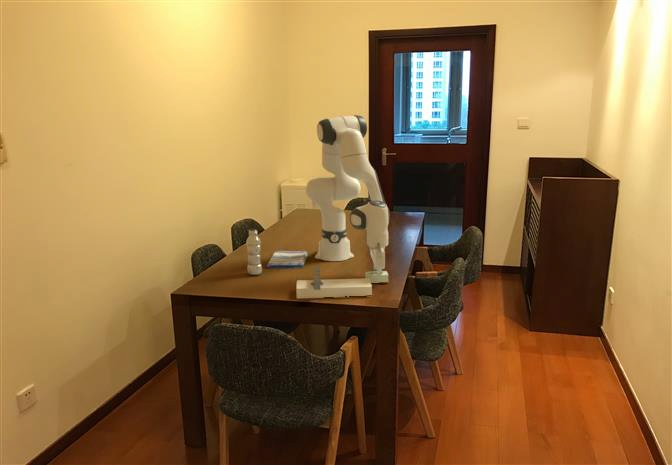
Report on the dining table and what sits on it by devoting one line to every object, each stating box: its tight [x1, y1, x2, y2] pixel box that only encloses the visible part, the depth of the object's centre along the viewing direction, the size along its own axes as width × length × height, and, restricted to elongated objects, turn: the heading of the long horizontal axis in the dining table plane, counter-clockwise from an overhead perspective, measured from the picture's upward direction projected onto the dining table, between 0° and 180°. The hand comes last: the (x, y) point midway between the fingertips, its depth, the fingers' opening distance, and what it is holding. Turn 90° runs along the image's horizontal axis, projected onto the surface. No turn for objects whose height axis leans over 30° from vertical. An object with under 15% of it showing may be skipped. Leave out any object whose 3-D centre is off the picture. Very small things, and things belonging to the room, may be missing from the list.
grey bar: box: [312, 265, 322, 290], centre depth 210 cm, size 3×20×4 cm, turn 2°
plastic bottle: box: [245, 228, 263, 276], centre depth 234 cm, size 6×7×20 cm
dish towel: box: [266, 250, 309, 269], centre depth 256 cm, size 17×24×3 cm
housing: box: [295, 277, 373, 300], centre depth 211 cm, size 10×29×4 cm, turn 93°
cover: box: [364, 270, 389, 283], centre depth 224 cm, size 5×9×5 cm, turn 93°
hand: (377, 272), depth 224 cm, fingers open, 8 cm apart
